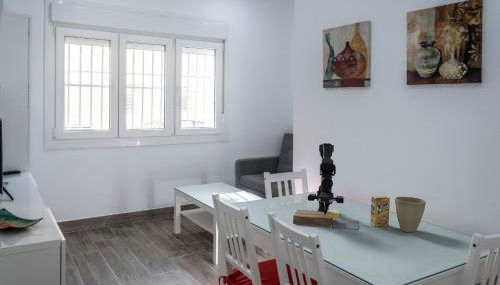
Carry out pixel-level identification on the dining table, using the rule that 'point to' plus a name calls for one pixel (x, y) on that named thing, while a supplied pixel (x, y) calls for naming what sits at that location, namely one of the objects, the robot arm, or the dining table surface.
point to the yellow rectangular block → (332, 214)
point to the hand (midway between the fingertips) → (325, 214)
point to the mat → (346, 224)
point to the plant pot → (409, 212)
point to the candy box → (380, 211)
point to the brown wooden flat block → (312, 218)
